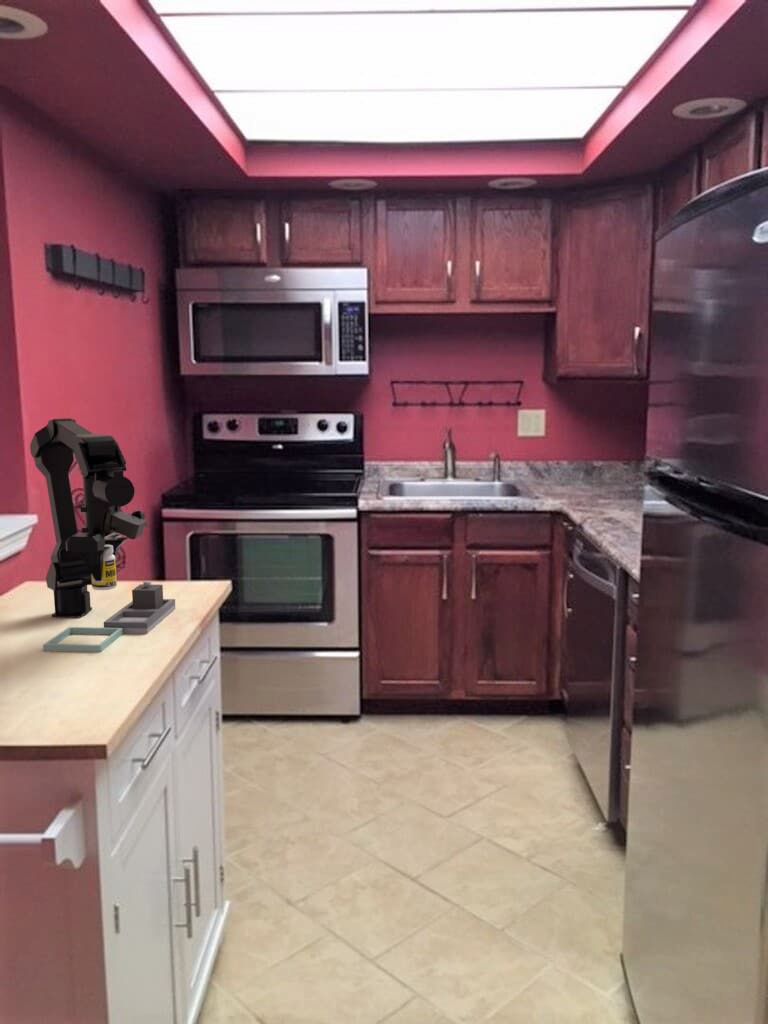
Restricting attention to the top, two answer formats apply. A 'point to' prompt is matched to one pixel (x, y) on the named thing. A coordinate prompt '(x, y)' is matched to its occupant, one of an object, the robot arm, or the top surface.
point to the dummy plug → (147, 596)
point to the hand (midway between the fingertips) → (104, 577)
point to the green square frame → (53, 645)
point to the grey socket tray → (139, 617)
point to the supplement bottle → (107, 572)
